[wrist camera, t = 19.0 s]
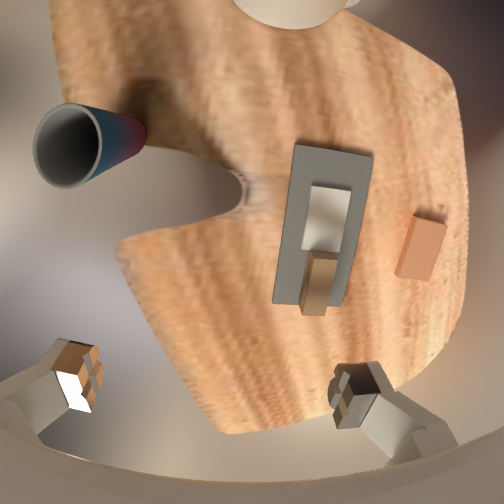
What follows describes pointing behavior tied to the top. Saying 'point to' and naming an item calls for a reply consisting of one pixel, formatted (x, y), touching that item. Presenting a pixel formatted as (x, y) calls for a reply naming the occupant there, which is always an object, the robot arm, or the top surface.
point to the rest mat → (301, 178)
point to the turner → (322, 246)
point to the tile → (420, 249)
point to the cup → (83, 143)
